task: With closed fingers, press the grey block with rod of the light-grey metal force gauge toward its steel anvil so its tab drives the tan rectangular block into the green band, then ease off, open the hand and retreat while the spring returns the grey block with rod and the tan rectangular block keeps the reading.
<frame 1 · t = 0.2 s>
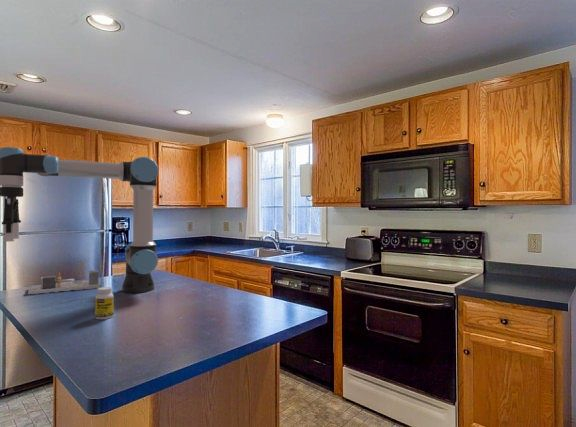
hand: (12, 240, 141), 28 cm above the countertop, fingers open, 13 cm apart
grey block with rod: (58, 280, 177), point 5 cm above the countertop, slide at 0.0 cm
gauge board: (66, 288, 179), on the countertop
tan rectangular block: (59, 277, 181), point 5 cm above the countertop, slide at 0.0 cm
pill bottle: (104, 317, 133), on the countertop
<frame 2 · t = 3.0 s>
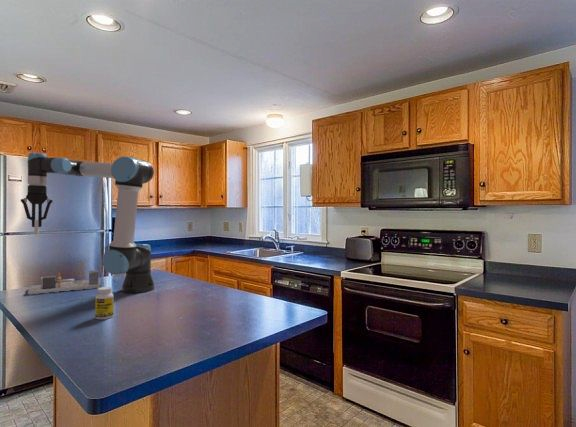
hand: (36, 233, 171), 28 cm above the countertop, fingers closed
nothing on the countertop moved.
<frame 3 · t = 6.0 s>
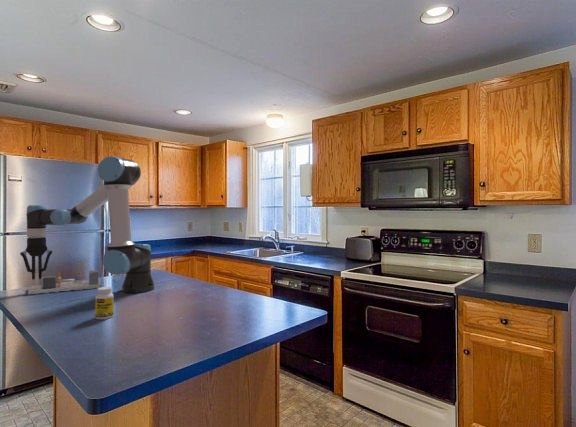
hand: (37, 285, 171), 3 cm above the countertop, fingers closed
grey block with rod: (58, 280, 177), point 5 cm above the countertop, slide at 0.1 cm, touching gripper
everything else where it was.
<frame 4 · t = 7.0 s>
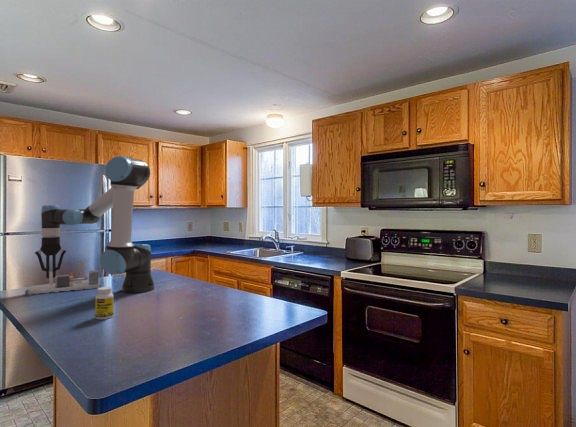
hand: (51, 284, 174), 3 cm above the countertop, fingers closed
grey block with rod: (71, 279, 180), point 5 cm above the countertop, slide at 5.8 cm, touching gripper, tan rectangular block
tan rectangular block: (71, 276, 184), point 5 cm above the countertop, slide at 5.3 cm, touching grey block with rod
everything else where it was.
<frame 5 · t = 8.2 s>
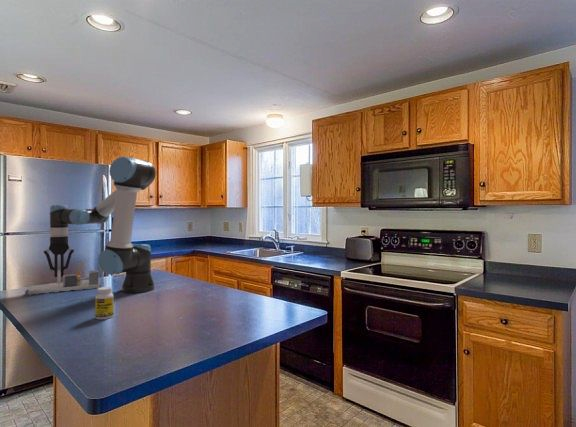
hand: (59, 283, 175), 3 cm above the countertop, fingers closed
grey block with rod: (79, 278, 182), point 5 cm above the countertop, slide at 9.0 cm, touching gripper, tan rectangular block
tan rectangular block: (78, 276, 185), point 5 cm above the countertop, slide at 8.5 cm, touching grey block with rod
everything else where it was.
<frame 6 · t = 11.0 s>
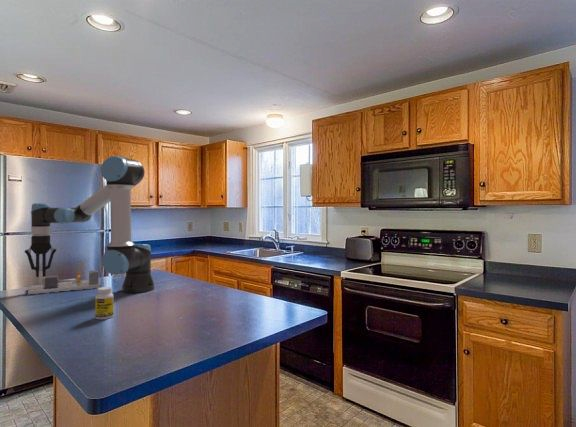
hand: (40, 283, 172), 4 cm above the countertop, fingers closed
grey block with rod: (60, 280, 178), point 5 cm above the countertop, slide at 0.9 cm
tan rectangular block: (78, 276, 185), point 5 cm above the countertop, slide at 8.5 cm
everything else where it was.
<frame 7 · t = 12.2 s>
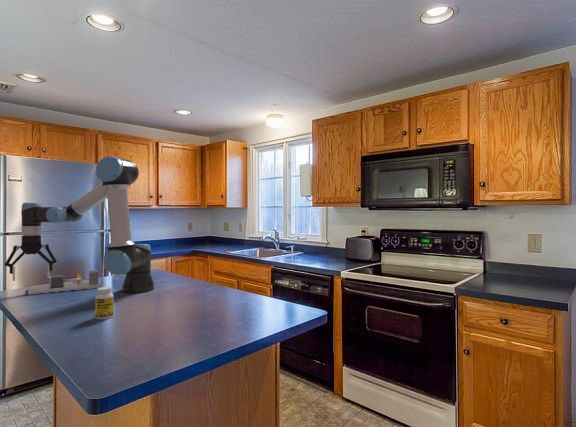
hand: (31, 279, 170), 7 cm above the countertop, fingers open, 13 cm apart
grey block with rod: (66, 279, 179), point 5 cm above the countertop, slide at 3.3 cm, touching gripper
everything else where it was.
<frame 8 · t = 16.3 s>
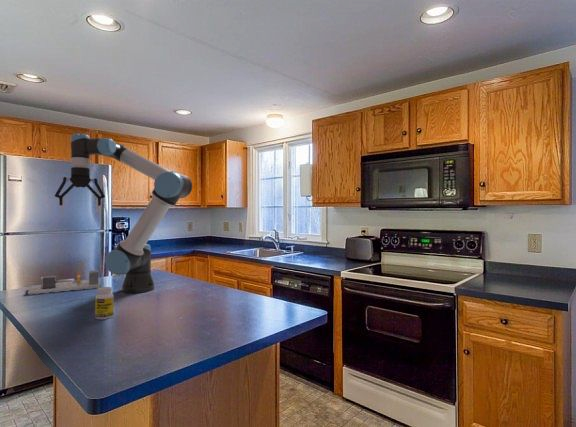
hand: (80, 212, 166), 39 cm above the countertop, fingers open, 13 cm apart
grey block with rod: (58, 280, 177), point 5 cm above the countertop, slide at 0.0 cm
everything else where it was.
at the end: tan rectangular block slide at 8.5 cm; grey block with rod slide at 0.0 cm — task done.
